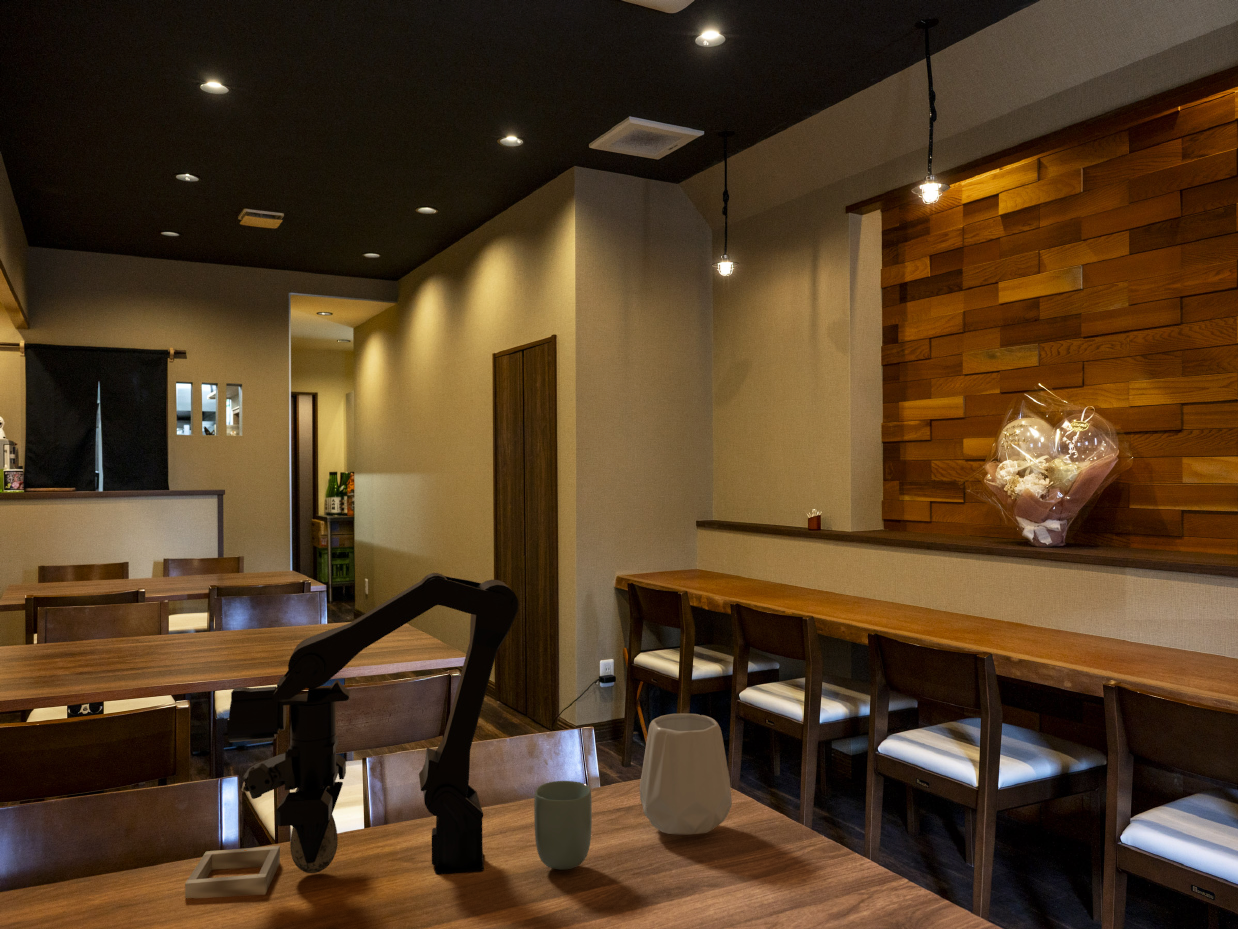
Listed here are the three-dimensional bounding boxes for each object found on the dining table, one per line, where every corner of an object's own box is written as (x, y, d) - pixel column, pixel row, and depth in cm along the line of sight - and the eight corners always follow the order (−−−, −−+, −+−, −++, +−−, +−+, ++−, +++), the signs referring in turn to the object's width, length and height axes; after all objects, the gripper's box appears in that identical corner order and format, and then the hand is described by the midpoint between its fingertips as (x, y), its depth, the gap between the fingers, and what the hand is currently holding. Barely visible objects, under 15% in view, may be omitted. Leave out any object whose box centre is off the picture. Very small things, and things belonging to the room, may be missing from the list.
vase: (671, 797, 147) (670, 704, 147) (748, 816, 139) (747, 718, 139) (621, 825, 136) (620, 725, 136) (701, 848, 127) (701, 741, 127)
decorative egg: (346, 869, 120) (346, 794, 120) (307, 886, 115) (306, 808, 115) (321, 857, 124) (320, 785, 123) (281, 873, 119) (280, 798, 119)
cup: (584, 879, 118) (583, 803, 118) (527, 874, 120) (527, 799, 120) (597, 853, 126) (597, 782, 126) (544, 849, 127) (543, 778, 127)
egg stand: (279, 864, 123) (279, 845, 123) (265, 896, 114) (265, 877, 114) (206, 870, 121) (206, 851, 121) (185, 903, 112) (185, 883, 112)
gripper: (264, 719, 127) (265, 829, 127) (231, 762, 109) (232, 890, 109) (345, 714, 129) (346, 823, 129) (327, 755, 111) (328, 882, 111)
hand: (314, 852), depth 119 cm, fingers closed on decorative egg, 6 cm apart
